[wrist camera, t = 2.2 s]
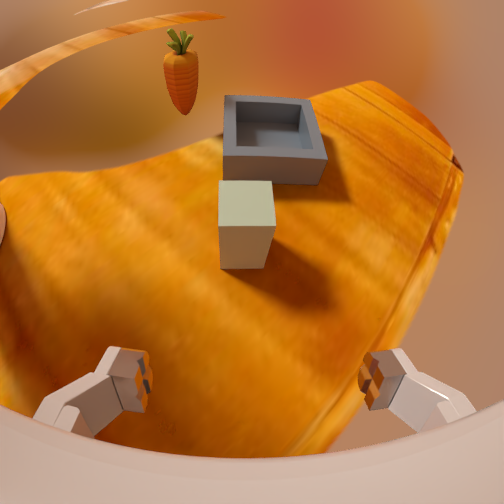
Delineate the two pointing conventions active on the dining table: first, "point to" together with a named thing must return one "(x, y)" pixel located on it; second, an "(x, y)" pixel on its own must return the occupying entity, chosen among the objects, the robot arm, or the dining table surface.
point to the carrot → (181, 72)
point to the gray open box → (272, 140)
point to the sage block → (245, 223)
